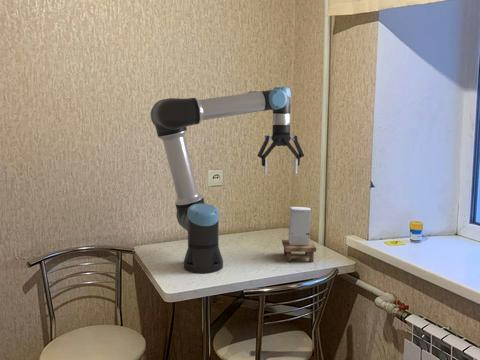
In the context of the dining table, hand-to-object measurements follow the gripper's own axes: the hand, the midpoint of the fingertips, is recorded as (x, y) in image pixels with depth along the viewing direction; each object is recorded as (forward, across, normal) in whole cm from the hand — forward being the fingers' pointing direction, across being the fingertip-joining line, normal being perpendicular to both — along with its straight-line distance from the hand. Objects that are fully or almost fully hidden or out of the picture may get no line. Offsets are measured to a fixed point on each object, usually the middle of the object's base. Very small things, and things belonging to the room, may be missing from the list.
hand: (280, 173), depth 189 cm
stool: (+33, -3, +17) cm, 37 cm away
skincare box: (+27, -3, +17) cm, 32 cm away
